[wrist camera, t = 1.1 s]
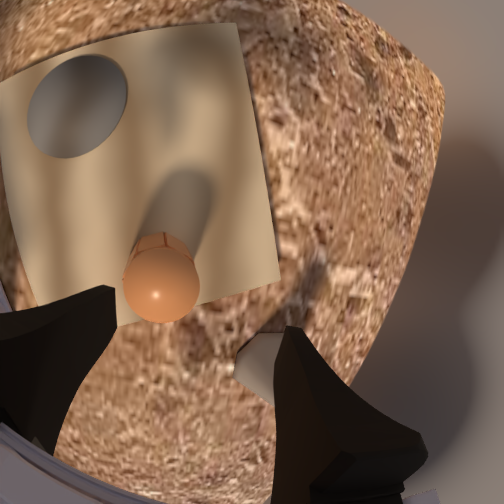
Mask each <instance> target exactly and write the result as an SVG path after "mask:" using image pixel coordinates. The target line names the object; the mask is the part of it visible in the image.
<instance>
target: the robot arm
mask: <svg viewBox="0 0 504 504" xmlns="http://www.w3.org/2000/svg"><path fill="white" fill-rule="evenodd" d="M116 329H117V314H116V295H115V288H114V287H110V286H107V285H104V284H103V285H99V286H96V287H93V288H90V289H87V290H85V291H82V292H79V293H77V294H74V295H71V296H69V297H66V298H63V299H60V300H57V301H54V302H51V303H48V304H45V305H42V306H38V307H34V308H30V309H26V310H20V311H13V312H12V309H11V307H10V304H9V302H8V300H7V297H6V294H5V292H4V289H3V287H2V284H1V281H0V504H167V503H164V502H160V501H156V500H153V499H150V498H146V497H143V496H140V495H137V494H134V493H131V492H128V491H126V490H123V489H120V488H118V487H115V486H113V485H110V484H108V483H105V482H103V481H101V480H98V479H96V478H94V477H92V476H89V475H87V474H85V473H83V472H81V471H79V470H77V469H75V468H73V467H71V466H69V465H67V464H65V463H64V462H62V461H60V460H58V459H56V458H55V457H53V454H54V450H55V446H56V443H57V439H58V436H59V433H60V430H61V427H62V424H63V422H64V419H65V416H66V414H67V412H68V409H69V407H70V405H71V402H72V400H73V398H74V396H75V394H76V392H77V390H78V388H79V386H80V385H81V383H82V381H83V380H84V378H85V377H86V375H87V374H88V372H89V371H90V370H91V368H92V367H93V365H94V364H95V363H96V361H97V360H98V358H99V357H100V356H101V354H102V353H103V351H104V350H105V349H106V347H107V346H108V344H109V342H110V340H111V339H112V337H113V335H114V333H115V331H116ZM273 391H274V405H275V418H276V454H275V467H274V479H273V488H272V496H271V504H440V501H439V498H438V496H437V492H436V489H432V490H429V491H426V492H422V493H419V494H415V495H412V496H409V497H407V498H405V499H403V500H402V498H401V495H400V493H402V492H403V491H404V490H405V488H404V484H403V481H405V480H406V479H407V478H408V477H410V476H411V475H412V474H413V473H415V472H416V471H417V470H418V469H419V468H420V467H421V466H422V465H423V464H424V463H425V461H426V459H427V458H428V451H427V449H426V446H425V444H424V441H423V439H422V437H421V435H420V433H419V432H416V431H415V430H412V429H410V428H408V427H406V426H404V425H402V424H400V423H398V422H396V421H394V420H392V419H391V418H389V417H388V416H386V415H384V414H383V413H381V412H379V411H378V410H377V409H375V408H374V407H372V406H371V405H369V404H368V403H367V402H366V401H364V400H363V399H362V398H360V397H359V396H358V395H357V394H356V393H355V392H354V391H353V390H351V389H350V388H349V387H348V386H347V385H346V384H345V383H344V382H343V381H342V380H341V379H340V378H339V377H338V376H337V375H336V373H335V372H334V371H333V370H332V369H331V368H330V367H329V365H328V364H327V363H326V362H325V360H324V359H323V358H322V356H321V355H320V354H319V353H318V351H317V350H316V348H315V347H314V346H313V344H312V343H311V341H310V340H309V338H308V337H307V336H306V334H305V333H304V331H303V330H302V328H298V327H292V326H286V328H285V332H284V335H283V338H282V341H281V344H280V347H279V350H278V353H277V356H276V359H275V362H274V375H273Z"/></svg>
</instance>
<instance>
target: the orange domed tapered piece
mask: <svg viewBox="0 0 504 504" xmlns="http://www.w3.org/2000/svg"><path fill="white" fill-rule="evenodd" d="M122 277H123V279H122V282H123V290H124V295H125V298H126V301H127V303H128V305H129V306H130V307H131V309H132V310H133V311H134V312H135V313H136V314H137V315H139V316H140V317H142V318H143V319H146V320H148V321H151V322H156V323H168V322H173V321H176V320H178V319H180V318H182V317H184V316H185V315H186V314H187V313H189V312H190V311H191V309H192V308H193V307H194V305H195V304H196V302H197V299H198V297H199V292H200V281H199V277H198V274H197V271H196V268H195V264H194V260H193V258H192V256H191V254H190V252H189V250H188V248H187V246H186V245H185V243H183V242H182V241H180V240H178V239H177V238H175V237H173V236H172V235H170V234H168V233H167V232H165V234H164V235H163V232H159V233H155V234H151V235H148V236H144V237H141V240H140V239H139V240H138V242H137V244H136V245H135V247H134V249H133V251H132V253H131V255H130V256H129V258H128V261H127V264H126V267H125V270H124V273H123V276H122Z"/></svg>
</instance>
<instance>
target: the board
mask: <svg viewBox="0 0 504 504" xmlns="http://www.w3.org/2000/svg"><path fill="white" fill-rule="evenodd" d="M0 154H1V164H2V173H3V180H4V187H5V193H6V199H7V204H8V209H9V214H10V218H11V223H12V227H13V231H14V235H15V239H16V242H17V246H18V249H19V253H20V256H21V259H22V262H23V266H24V269H25V272H26V275H27V277H28V280H29V283H30V286H31V288H32V291H33V294H34V296H35V299H36V301H37V304H38V306H42V305H45V304H48V303H51V302H54V301H57V300H60V299H63V298H66V297H69V296H71V295H74V294H77V293H79V292H82V291H85V290H87V289H90V288H93V287H96V286H99V285H103V284H104V285H107V286H110V287H114V288H115V295H116V314H117V326H121V325H125V324H129V323H133V322H137V321H141V320H145V319H143V318H142V317H140V316H139V315H137V314H136V313H135V312H134V311H133V310H132V309H131V307H130V306H129V305H128V303H127V301H126V298H125V295H124V290H123V282H122V279H123V277H122V276H123V273H124V270H125V267H126V264H127V261H128V258H129V256H130V255H131V253H132V251H133V249H134V247H135V245H136V244H137V242H138V240H139V239H140V240H141V237H144V236H148V235H151V234H155V233H159V232H163V235H164V234H165V232H167V233H168V234H170V235H172V236H173V237H175V238H177V239H178V240H180V241H182V242H183V243H185V245H186V246H187V248H188V250H189V252H190V254H191V256H192V258H193V260H194V264H195V268H196V271H197V274H198V277H199V281H200V292H199V297H198V299H197V302H196V304H195V305H194V306H196V305H200V304H203V303H207V302H210V301H214V300H217V299H221V298H224V297H227V296H231V295H234V294H237V293H241V292H244V291H247V290H251V289H254V288H257V287H261V286H264V285H267V284H270V283H274V282H277V281H280V280H281V278H280V271H279V264H278V257H277V250H276V244H275V237H274V230H273V224H272V217H271V211H270V205H269V199H268V192H267V186H266V180H265V174H264V168H263V162H262V156H261V151H260V145H259V139H258V133H257V128H256V122H255V117H254V111H253V106H252V100H251V95H250V90H249V85H248V79H247V74H246V69H245V64H244V59H243V54H242V49H241V44H240V39H239V34H238V30H237V25H236V23H208V24H194V25H183V26H174V27H167V28H160V29H154V30H148V31H142V32H137V33H132V34H128V35H123V36H119V37H115V38H111V39H107V40H103V41H100V42H96V43H93V44H90V45H86V46H83V47H80V48H77V49H74V50H71V51H69V52H66V53H63V54H60V55H58V56H55V57H53V58H50V59H48V60H46V61H43V62H41V63H39V64H36V65H34V66H32V67H30V68H28V69H26V70H23V71H21V72H19V73H17V74H15V75H14V76H12V77H10V78H8V79H6V80H4V81H2V82H1V83H0Z"/></svg>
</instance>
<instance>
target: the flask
mask: <svg viewBox="0 0 504 504" xmlns="http://www.w3.org/2000/svg"><path fill="white" fill-rule="evenodd" d="M283 335H284V333H258V334H257V335H256V336H255V337H254V338H253V339H252V340H251V341H250V342H249V343H248V344H247V345H246V346H245V347H244V348H243V349H242V350H241V351H240V352H239V353H238V354H237V357H236V362H235V368H234V373H233V378H234V379H235V380H237V381H238V382H239V383H241V384H242V385H244V386H245V387H247V388H248V389H250V390H251V391H253V392H254V393H255V394H257V395H258V396H260V397H261V398H262V399H264V400H265V401H267V402H268V403H269V404H271V405H272V406H274V407H275V405H274V391H273V375H274V362H275V359H276V356H277V353H278V350H279V347H280V344H281V341H282V338H283Z"/></svg>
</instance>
